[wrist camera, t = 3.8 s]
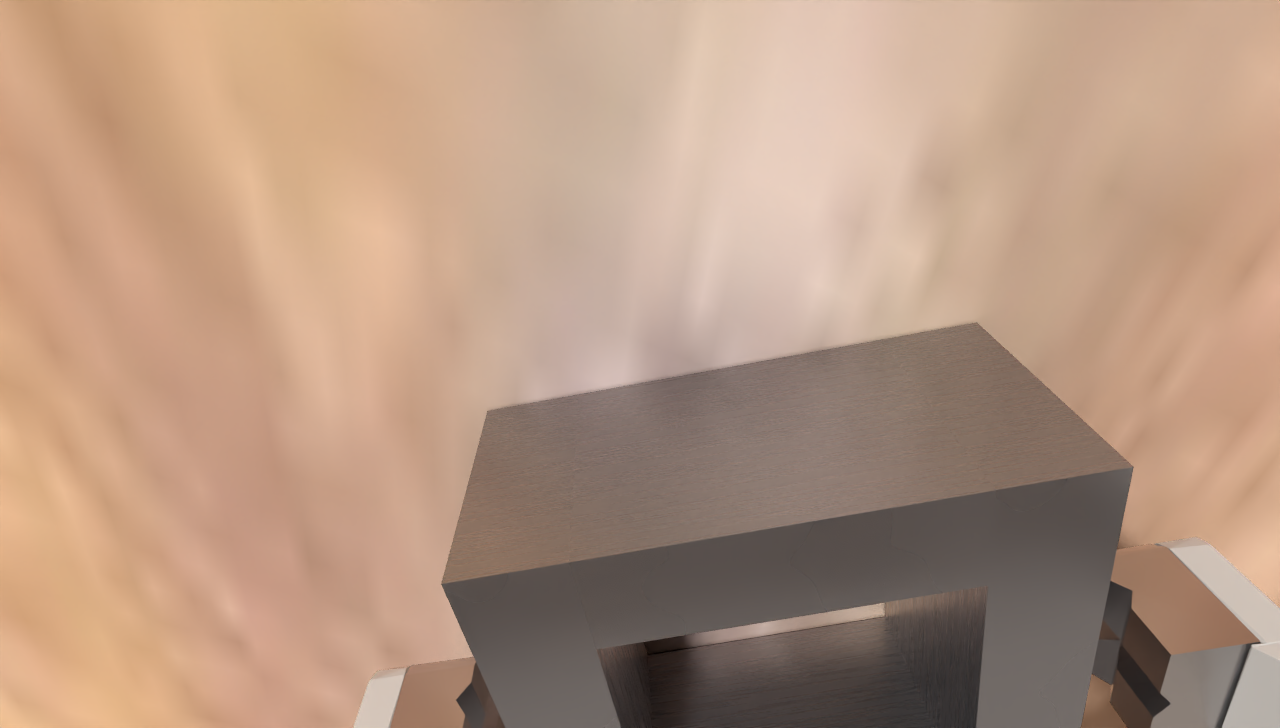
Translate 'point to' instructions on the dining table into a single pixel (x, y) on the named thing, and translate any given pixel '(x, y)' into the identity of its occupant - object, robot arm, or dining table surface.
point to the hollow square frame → (794, 545)
